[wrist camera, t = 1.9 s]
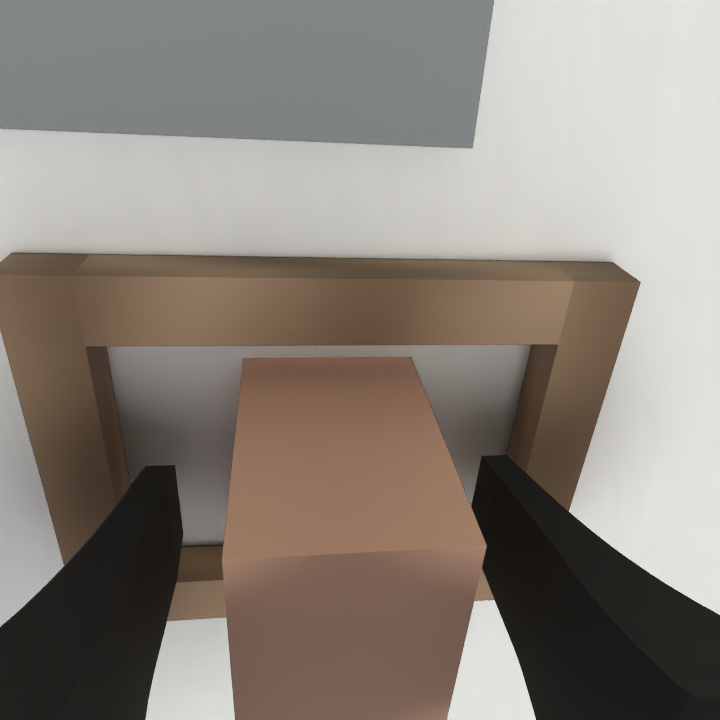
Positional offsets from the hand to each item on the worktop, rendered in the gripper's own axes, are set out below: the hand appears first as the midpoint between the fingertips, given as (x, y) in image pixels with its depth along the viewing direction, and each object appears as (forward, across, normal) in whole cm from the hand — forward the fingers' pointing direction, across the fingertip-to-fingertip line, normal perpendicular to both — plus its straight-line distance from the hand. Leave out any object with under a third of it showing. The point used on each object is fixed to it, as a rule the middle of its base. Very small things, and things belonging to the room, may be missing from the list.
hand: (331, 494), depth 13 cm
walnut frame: (+2, 0, 0) cm, 2 cm away
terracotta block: (+2, 0, 0) cm, 2 cm away
